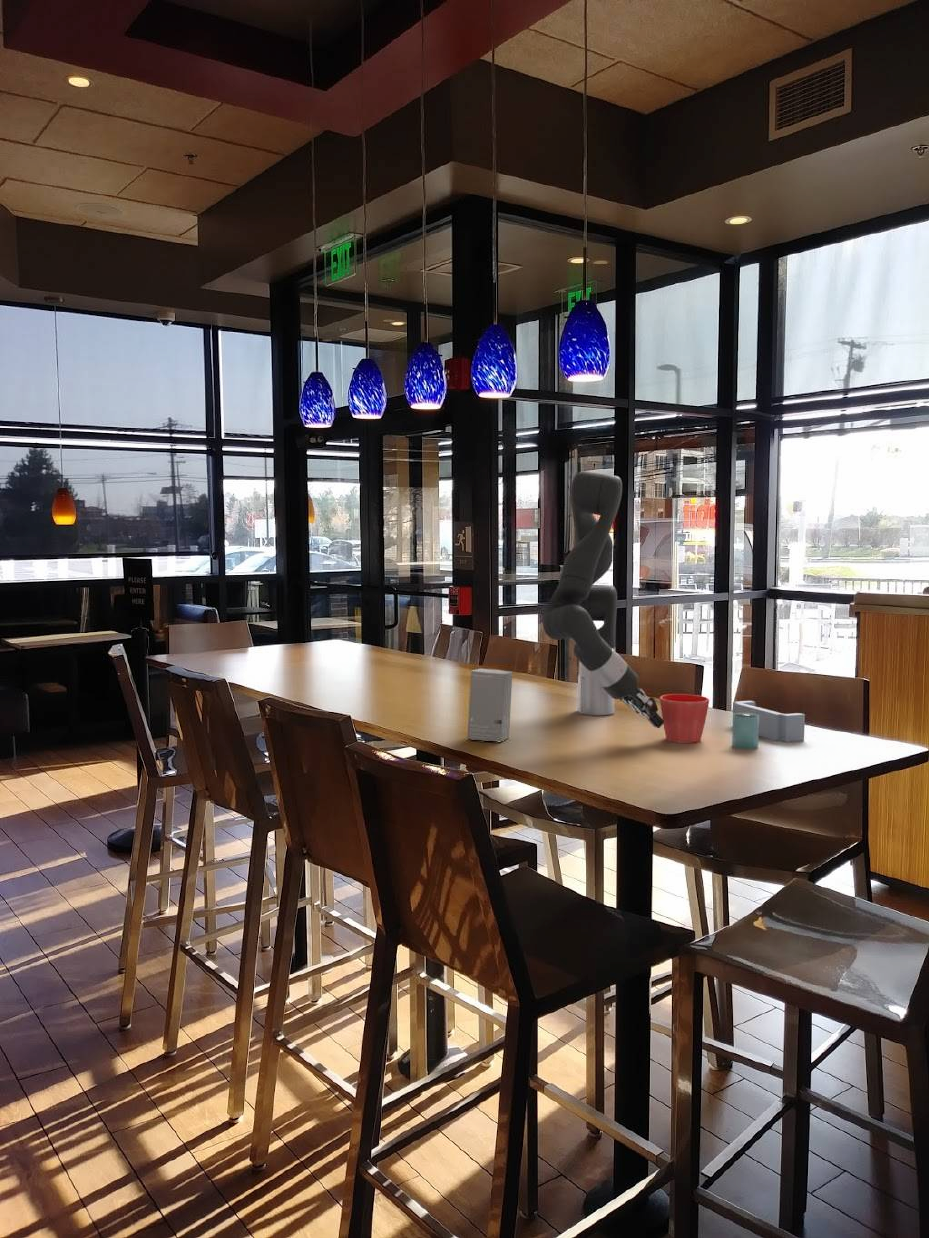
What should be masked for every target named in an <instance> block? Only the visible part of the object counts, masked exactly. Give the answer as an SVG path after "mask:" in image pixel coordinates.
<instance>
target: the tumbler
mask: <svg viewBox="0 0 929 1238" xmlns="http://www.w3.org/2000/svg"><path fill="white" fill-rule="evenodd" d="M731 747H732V748H734V749H740V750H755V749H756V750H757V749H758V748H759V715H757V714H754V713H735V714H733V713H732V731H731Z"/></svg>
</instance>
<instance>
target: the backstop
mask: <svg viewBox="0 0 929 1238" xmlns="http://www.w3.org/2000/svg"><path fill="white" fill-rule="evenodd" d="M735 713H754V714H757V715H759V736H760V737H762V738H766V739H769V740H773V741H776V742H777V741H781V742H784V743H792V742H791V741H794V742H804V741H805V724H806V722H805V721H806V720H805V718H806V714H804V713H800V712H795V713H781V712H779V711H776V710H775V711H774V710H770V709H767V708H764V707H763V708H762V707H760V706H759V707H758V706H756V701H753V700H740V701H738V700H737V701H733V702H732V715H733V714H735Z"/></svg>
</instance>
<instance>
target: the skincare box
mask: <svg viewBox="0 0 929 1238" xmlns="http://www.w3.org/2000/svg"><path fill="white" fill-rule="evenodd" d="M513 674H514V673H513V671H507V670H500V669H490V668H477V669H473V670H471V671H470V685H469V688H470V689H469V700H468V701H469V703H468V704H469V706H468V720H467V721H468V722H467V723H468V724H467V739H473V740H483V741H482V742H484V741H503V742H504V740H505V739H506V738H508V737H509V738H510V727H511V726H510V725H511V709H512V708H511V706H512V689H513V688H512V687H513ZM509 738H508V739H509ZM505 741H506V740H505Z"/></svg>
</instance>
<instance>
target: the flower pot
mask: <svg viewBox="0 0 929 1238" xmlns="http://www.w3.org/2000/svg"><path fill="white" fill-rule="evenodd" d="M659 703H660V710H661V711H660V712H661V718H662V719H663V720H664V723H663V729H664V734H665V738H666V740H667V741H669V742H672V741H673V743H677V742H678V743H679V744H693V743H699V742H701V740H702V736H703V733H704V728H705V724H706V719H707V716H708V715H707V714H708V709H709V705H710V698H708V697H706V696H704V695H697V694H688V693H687V694H686V693H671V694H669V693H667V694H664V695H661V696H660V697H659Z"/></svg>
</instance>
